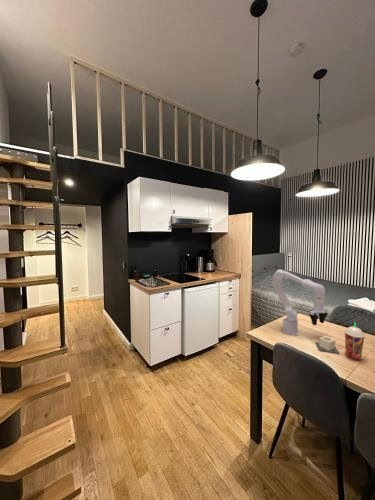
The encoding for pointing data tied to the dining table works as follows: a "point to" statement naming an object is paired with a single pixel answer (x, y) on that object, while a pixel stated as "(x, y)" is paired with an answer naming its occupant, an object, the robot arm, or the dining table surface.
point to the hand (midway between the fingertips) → (317, 323)
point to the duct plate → (326, 349)
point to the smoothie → (354, 342)
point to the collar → (327, 343)
